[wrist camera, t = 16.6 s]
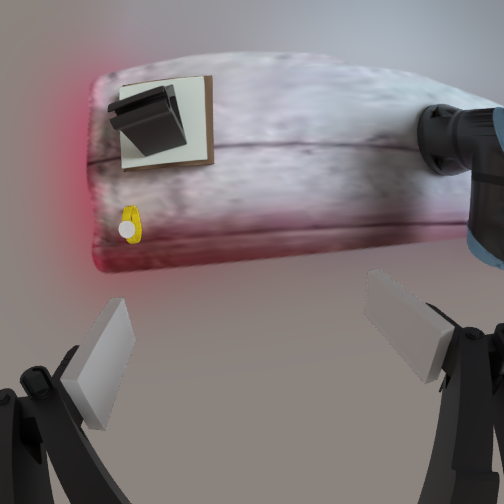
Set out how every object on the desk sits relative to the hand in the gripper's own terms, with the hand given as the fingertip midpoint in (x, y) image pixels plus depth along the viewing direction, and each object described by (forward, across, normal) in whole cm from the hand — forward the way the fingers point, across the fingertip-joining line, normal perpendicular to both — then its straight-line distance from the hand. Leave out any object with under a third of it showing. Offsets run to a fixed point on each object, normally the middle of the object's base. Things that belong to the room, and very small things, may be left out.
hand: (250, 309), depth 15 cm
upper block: (+31, -8, +14) cm, 35 cm away
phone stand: (+27, -8, +14) cm, 32 cm away
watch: (+35, -16, -1) cm, 38 cm away
